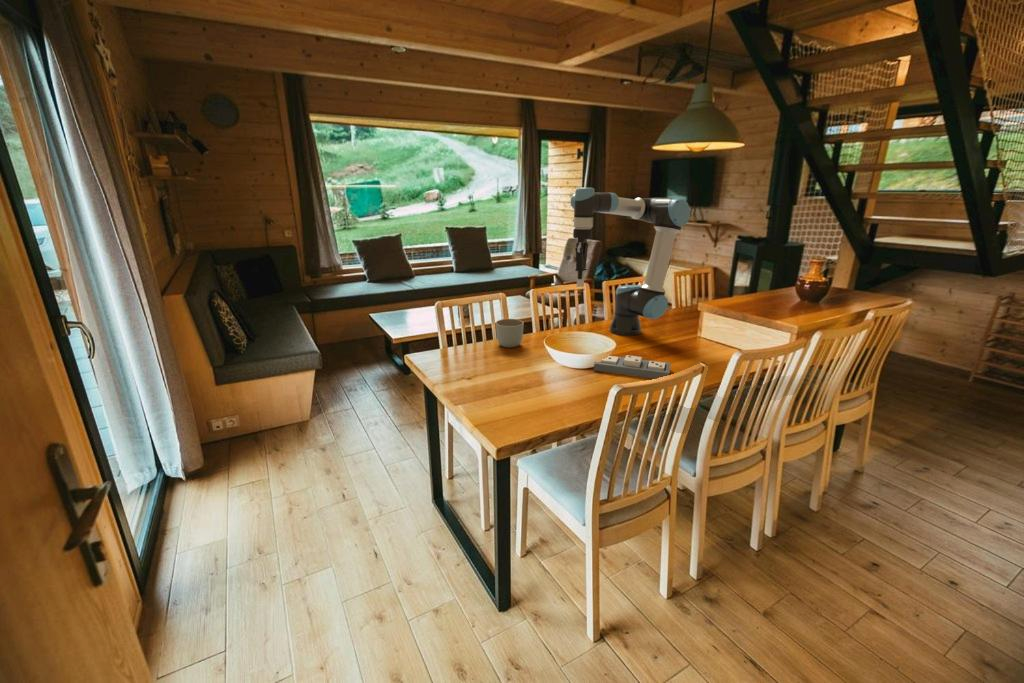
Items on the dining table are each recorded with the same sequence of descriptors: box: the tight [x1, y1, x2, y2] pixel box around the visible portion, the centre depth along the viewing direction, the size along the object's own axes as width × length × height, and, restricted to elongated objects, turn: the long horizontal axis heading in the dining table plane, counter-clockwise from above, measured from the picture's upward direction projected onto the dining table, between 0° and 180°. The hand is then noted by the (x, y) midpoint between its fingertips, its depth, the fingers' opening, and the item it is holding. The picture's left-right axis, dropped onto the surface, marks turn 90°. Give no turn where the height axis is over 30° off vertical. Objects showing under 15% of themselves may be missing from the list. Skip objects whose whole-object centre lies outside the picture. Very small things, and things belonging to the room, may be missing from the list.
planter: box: [495, 318, 525, 349], centre depth 213 cm, size 12×12×11 cm
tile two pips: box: [624, 354, 643, 367], centre depth 184 cm, size 6×6×3 cm
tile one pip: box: [601, 355, 619, 364], centre depth 188 cm, size 6×6×3 cm
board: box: [593, 355, 672, 380], centre depth 185 cm, size 11×28×3 cm, turn 69°
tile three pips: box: [648, 360, 666, 371], centre depth 182 cm, size 6×6×3 cm
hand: (580, 286), depth 195 cm, fingers closed
